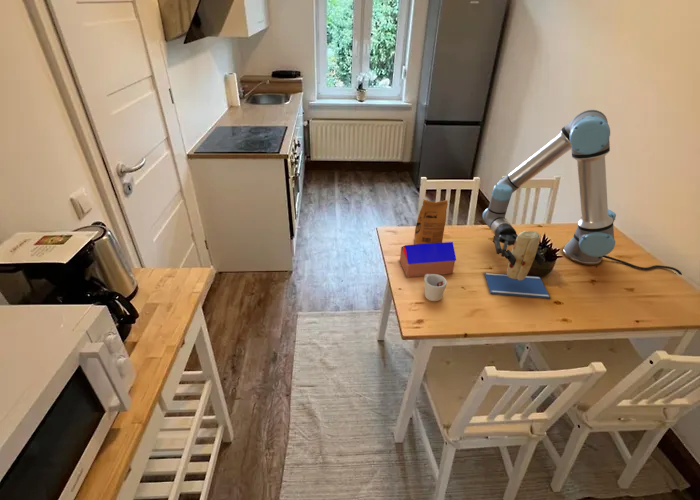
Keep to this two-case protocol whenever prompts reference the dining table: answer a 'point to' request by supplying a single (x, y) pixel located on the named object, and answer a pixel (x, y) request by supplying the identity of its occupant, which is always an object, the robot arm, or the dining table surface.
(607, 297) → the dining table surface
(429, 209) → the coffee package
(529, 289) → the towel
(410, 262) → the house
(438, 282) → the cup
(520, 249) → the food model
